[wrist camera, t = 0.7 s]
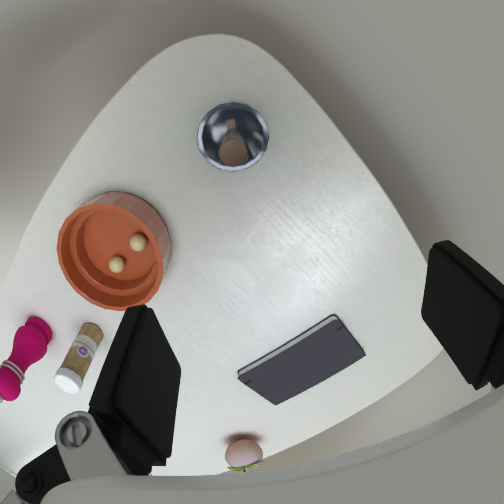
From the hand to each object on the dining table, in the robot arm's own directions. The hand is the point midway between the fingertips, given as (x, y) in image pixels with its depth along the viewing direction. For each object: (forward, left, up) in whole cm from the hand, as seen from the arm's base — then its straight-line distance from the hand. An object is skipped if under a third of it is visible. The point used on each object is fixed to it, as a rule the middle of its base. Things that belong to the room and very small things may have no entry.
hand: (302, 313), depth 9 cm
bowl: (+7, -20, -31) cm, 38 cm away
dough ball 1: (+9, -21, -30) cm, 38 cm away
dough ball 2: (+7, -17, -30) cm, 35 cm away
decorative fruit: (+63, -14, -31) cm, 72 cm away
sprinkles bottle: (+22, -33, -31) cm, 51 cm away
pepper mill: (+20, -46, -31) cm, 59 cm away
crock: (-4, -1, -31) cm, 31 cm away
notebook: (+37, +3, -31) cm, 48 cm away
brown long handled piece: (-4, -1, -30) cm, 31 cm away
